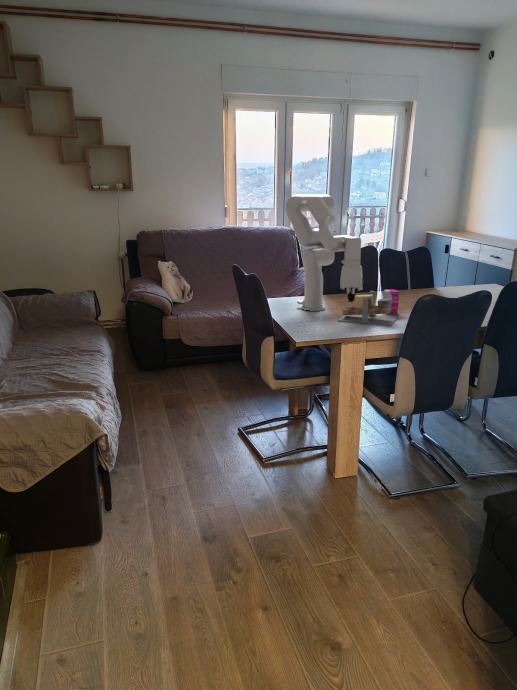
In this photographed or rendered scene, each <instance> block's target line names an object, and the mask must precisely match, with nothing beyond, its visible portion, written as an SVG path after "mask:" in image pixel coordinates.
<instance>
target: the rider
mask: <svg viewBox="0 0 517 690" xmlns="http://www.w3.org/2000/svg"><path fill="white" fill-rule="evenodd" d="M363 296H364V297H369V305H370V308H374V298H373V294H370V293H369V294H357V295H356V294H355V299H354V305H355V306H354V307H356V309H362V305H363Z"/></svg>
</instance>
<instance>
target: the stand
mask: <svg viewBox="0 0 517 690" xmlns="http://www.w3.org/2000/svg"><path fill="white" fill-rule="evenodd" d="M370 294H373V298H374V306H376V305H375V302H376V291H374V290H369V295H370ZM368 300H369V297H364V296H363V305H362V315H342V317H340V318H339V319H338V320H337V322H341V323H349V324H350V323H351V324H361V325H363V324H364V325H372V326H373V325H374V326H385V327H392V325H394V323H395V322H396V320H397V319H398V316H392V315H391V316H390V315H388V316H387V315H380V314H368Z"/></svg>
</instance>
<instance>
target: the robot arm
mask: <svg viewBox="0 0 517 690" xmlns="http://www.w3.org/2000/svg"><path fill="white" fill-rule="evenodd" d="M334 207H335V200H334V199H333V197H332V196H331V195H329V194H318V193H317V194H315V193H313V194H312V193H307V194H303V193H301V194H295V195H291V196H289V197H288V198H287V200H286V203H285V213H286V215H287V218H288V220H289V221H290V224H291V226H292V227H293V228H292V229H293V230H294V233H295V236H296V238H297V240H298V243H299V245H300V247H301V248H303V249H306V250H305V251H304V252H303V254H302V262H303V269H304V297H303V298H304V299H302V300H301V299H297V301H296V303H297V305H302V306H301V308H302V309H301V310H303V309H304V310H303V311H306V310H310V311H309V312H321V311H324V310H326V306H325V305H323V296H324V295H323V293H324V292H323V291H324V290H323V289H324V287H323V286H324V275H323V271H322V268H321V267H323V266H324V267H325V266H329V265H331V264H334V261H335V257H336V256H335V253H337V252H344V253H343V254H344V255H343V257H344V258H343V259H342V260H340V261H341V262H340V263H341V264H343V266H342V267H341V272H340V280H339V281H340V282H339V285H340V286H339V287H340V289H341V290H344V291H345V292H346V294H347V300H348V303H353V302H354V301H355V296H356V293H357V292H358V291H362V290H363V289H364V288H363V284H364V277H363V276H364V274H363V267H362V265H361V259H362V258H361V257H362V255H361V254H362V251H361V250H362V238H361V237H360V236H356V235H355V236H351V235H348V234H347V235H346V234H340V235H333V234H332V233H331V231H330V230H329V226H331V225H332V224H333V222H334V221H335V215H334V213H333V212H332V210H334ZM302 212H310V213H311V215H312V217H313V218H314V220H315V222H316V223H317V224H318V228H313V227H312V226H311V224H310V221H309V219H308V218H307V217H306V215H304V214H303V213H302Z"/></svg>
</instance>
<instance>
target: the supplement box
mask: <svg viewBox="0 0 517 690" xmlns="http://www.w3.org/2000/svg"><path fill="white" fill-rule="evenodd" d="M388 298H390V300H391V312H390V313H389V314H388V315H395V314H398V312H399V311H398V309H399V299H400V291H399V290H397V289H391V288H390V289H383V296H382V299H388Z"/></svg>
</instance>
